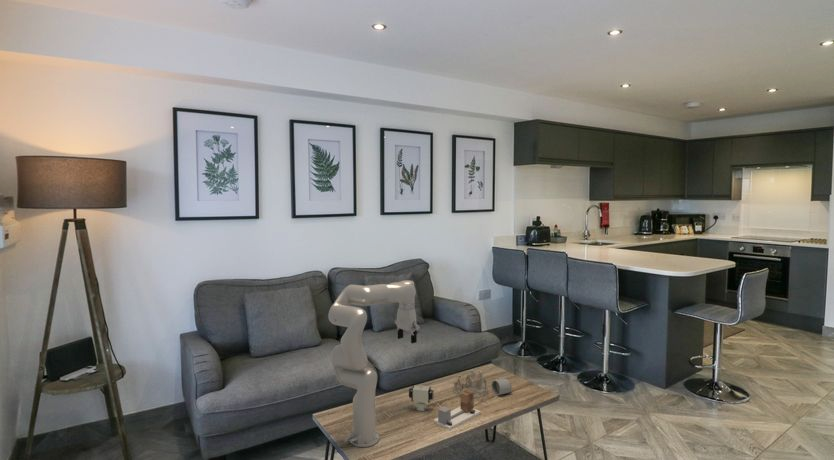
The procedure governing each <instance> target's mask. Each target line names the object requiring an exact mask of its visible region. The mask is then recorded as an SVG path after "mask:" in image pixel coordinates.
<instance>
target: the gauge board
mask: <svg viewBox="0 0 834 460" xmlns="http://www.w3.org/2000/svg"><path fill="white" fill-rule="evenodd" d="M473 409H474V410H475V412H474V411H471V410H469V411H468V412H466V411H464V410H462V409H461V405H460V406H459V407H456V408H454V409H451V408H449V407H447V406H442V407H440V408H438V409H437V417H436V418H433V421H432V422H433V423H434V424H437V426H440V427H443V428H444V429H447V430H448V431H452V430H453V429H455V428H456V427H458V426H461V425H462V424H464V423H466V422H468V421H470V420H471V419H473V418H475V417H478V416H479V415H481V413H482V412H481V410H479V409H476V408H473Z"/></svg>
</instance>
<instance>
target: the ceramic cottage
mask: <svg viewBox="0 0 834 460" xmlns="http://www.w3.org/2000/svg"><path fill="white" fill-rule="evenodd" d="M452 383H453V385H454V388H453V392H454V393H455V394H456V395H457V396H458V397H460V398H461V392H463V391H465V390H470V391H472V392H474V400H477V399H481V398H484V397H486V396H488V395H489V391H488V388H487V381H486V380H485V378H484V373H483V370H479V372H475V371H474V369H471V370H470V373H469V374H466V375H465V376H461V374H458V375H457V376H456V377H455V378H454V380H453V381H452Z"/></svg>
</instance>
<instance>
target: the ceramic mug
mask: <svg viewBox="0 0 834 460" xmlns="http://www.w3.org/2000/svg"><path fill="white" fill-rule="evenodd" d="M491 390H492V392H493V394H494V395H495V396H501V395H505V394H509V393H511V391H512V384H511V381H510V380H509V379H507V378H500V379H494V380H492V383H491Z"/></svg>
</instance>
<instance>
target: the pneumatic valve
mask: <svg viewBox="0 0 834 460" xmlns="http://www.w3.org/2000/svg"><path fill="white" fill-rule="evenodd" d="M434 396H435V392H434V389H432V386H429V385H427V386H426V385H417V384H415V385H412V387H411V388H410V387H409V389H408V398H410V400H411V402H413V403H415V408H416V410H417V411H421V412H425V411H426V410H427V409H428V404H430V403H431V401H433V400H434V398H435V397H434Z"/></svg>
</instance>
